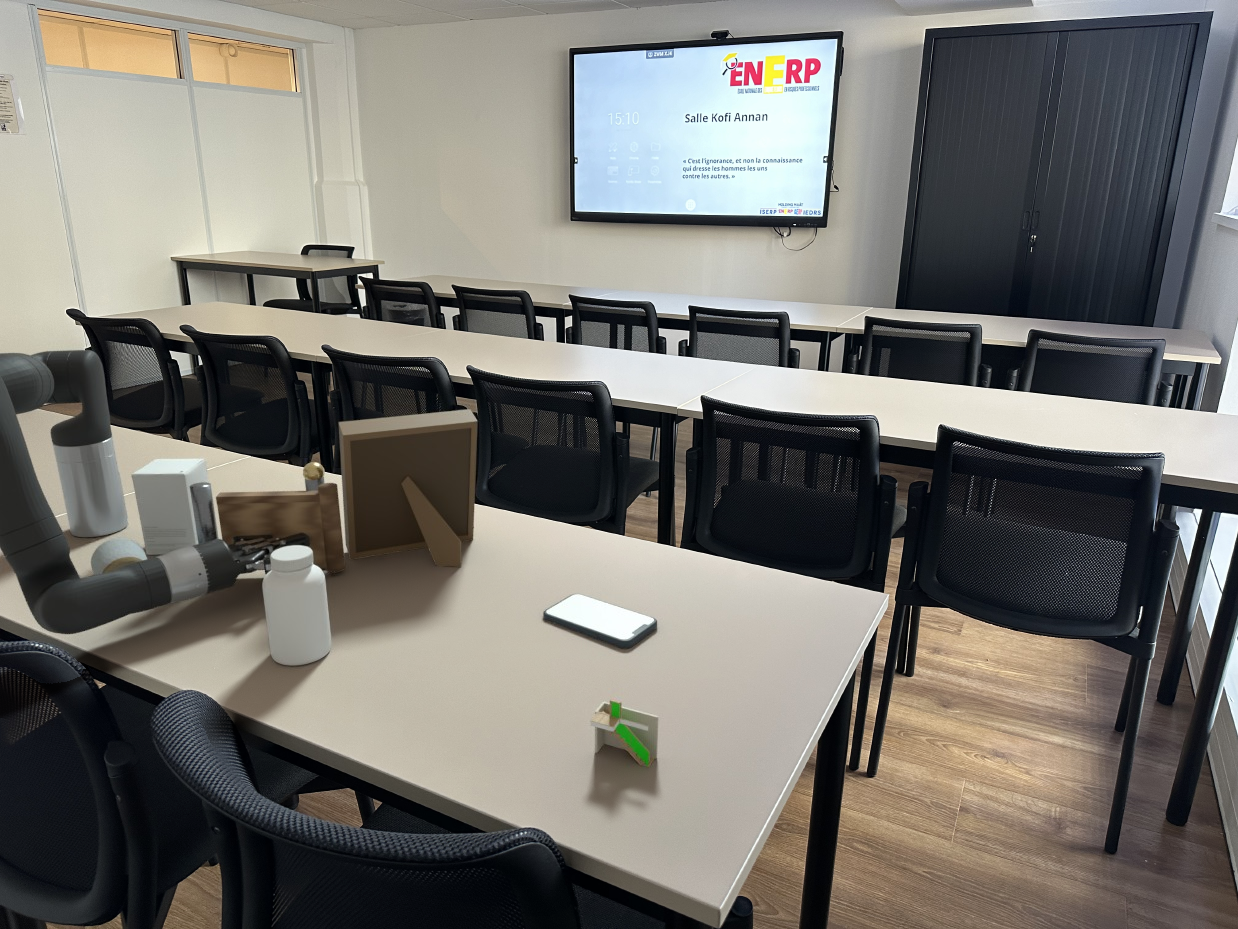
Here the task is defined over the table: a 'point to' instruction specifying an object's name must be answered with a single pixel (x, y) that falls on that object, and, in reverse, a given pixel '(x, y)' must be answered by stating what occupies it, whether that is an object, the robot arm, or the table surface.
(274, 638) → the pill bottle
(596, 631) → the smartphone
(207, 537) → the hinge post
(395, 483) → the photo frame
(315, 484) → the post
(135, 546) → the ceramic mug
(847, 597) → the table surface
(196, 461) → the supplement box
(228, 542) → the gate
